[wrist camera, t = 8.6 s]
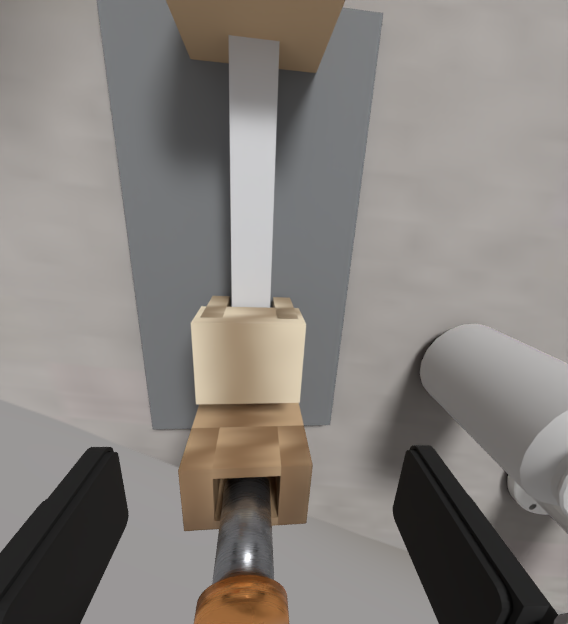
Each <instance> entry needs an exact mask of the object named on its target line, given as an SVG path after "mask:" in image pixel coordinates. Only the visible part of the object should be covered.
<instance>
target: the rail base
mask: <svg viewBox="0 0 568 624" xmlns="http://www.w3.org/2000/svg"><path fill="white" fill-rule="evenodd" d="M344 2H345V0H97V6H98V14H99V22H100V29H101V37H102V44H103V52H104V60H105V67H106V75H107V83H108V90H109V98H110V106H111V113H112V121H113V129H114V136H115V144H116V152H117V159H118V167H119V174H120V182H121V190H122V197H123V205H124V213H125V220H126V228H127V236H128V243H129V251H130V259H131V266H132V274H133V282H134V289H135V297H136V305H137V312H138V320H139V327H140V335H141V343H142V350H143V358H144V366H145V373H146V381H147V389H148V396H149V404H150V412H151V419H152V427H153V429H191V428H192V426H193V422H194V419H195V416H196V413H197V410H198V407H199V404H196V397H195V381H194V366H193V350H192V335H191V322H192V320H193V319H194V317H195V315H196V314H197V312H198V311H199V309H200V308H201V306H207V305H208V303H209V301H210V299H211V298H212V296H230V307H267V308H273V297H285V298H290V299H291V302H292V304H293V307H294V308H299V310H300V312H301V314H302V316H303V318H304V321H305V323H306V333H305V345H304V358H303V370H302V382H301V394H300V403H299V406H300V411H301V415H302V420H303V424H304V426H309V425H330V421H331V413H332V405H333V398H334V390H335V382H336V375H337V367H338V359H339V351H340V344H341V336H342V328H343V321H344V313H345V305H346V297H347V290H348V282H349V274H350V266H351V259H352V251H353V243H354V236H355V228H356V220H357V212H358V205H359V197H360V189H361V181H362V174H363V166H364V158H365V151H366V143H367V135H368V127H369V120H370V112H371V104H372V97H373V89H374V81H375V73H376V66H377V58H378V50H379V42H380V35H381V27H382V19H383V13H379V12H371V11H364V10H357V9H350V8H342V7H343V5H344Z"/></svg>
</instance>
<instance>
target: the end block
mask: <svg viewBox="0 0 568 624" xmlns="http://www.w3.org/2000/svg"><path fill="white" fill-rule="evenodd" d="M312 466H313V465H312V460H311V456H310V451H309V447H308V442H307V438H306V433H305V429H304V424H303V420H302V415H301V411H300V406H299V403H253V404H199V407H198V410H197V413H196V416H195V419H194V422H193V426H192V429H191V432H190V435H189V438H188V441H187V445H186V448H185V451H184V454H183V457H182V460H181V464H180V467H179V470H178V474H179V483H180V494H181V503H182V514H183V524H184V531H194V530H208V529H219V526H220V518H221V510H222V502H223V494H224V486H225V483H226V481H227V479H228V478H244V477H267V478H268V480H269V483H270V501H271V523H272V526H273V525H287V524H304V523H306V520H307V512H308V503H309V494H310V485H311V476H312Z"/></svg>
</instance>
